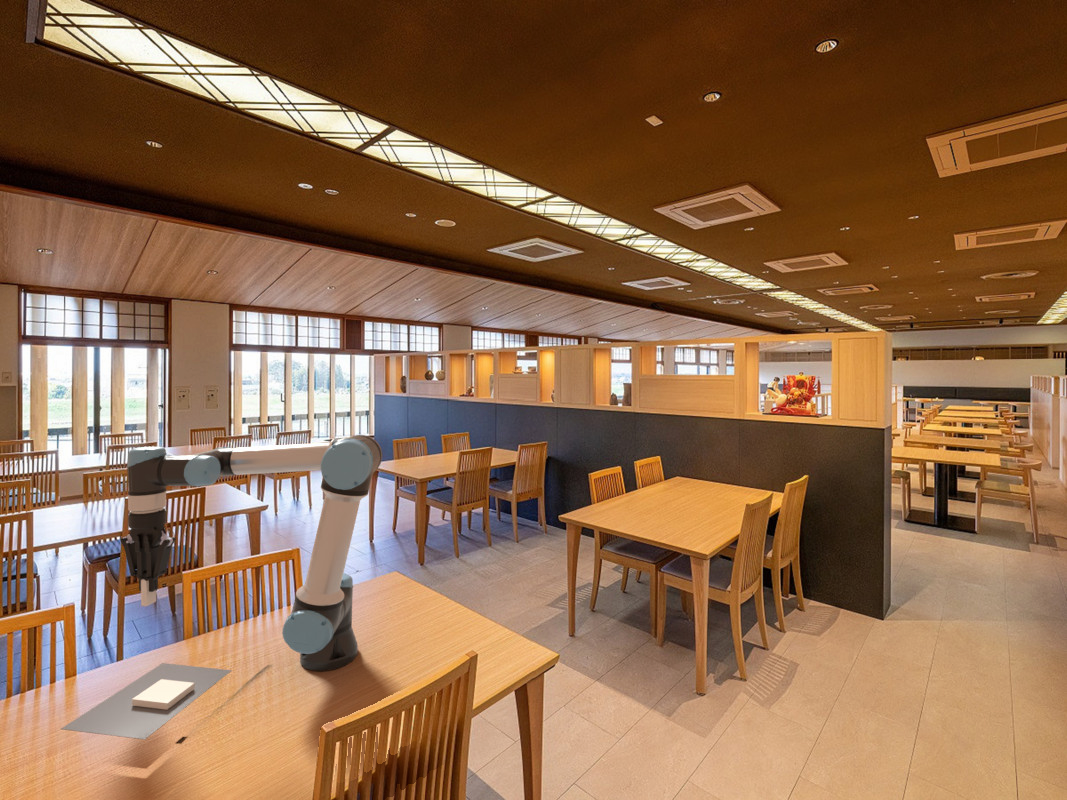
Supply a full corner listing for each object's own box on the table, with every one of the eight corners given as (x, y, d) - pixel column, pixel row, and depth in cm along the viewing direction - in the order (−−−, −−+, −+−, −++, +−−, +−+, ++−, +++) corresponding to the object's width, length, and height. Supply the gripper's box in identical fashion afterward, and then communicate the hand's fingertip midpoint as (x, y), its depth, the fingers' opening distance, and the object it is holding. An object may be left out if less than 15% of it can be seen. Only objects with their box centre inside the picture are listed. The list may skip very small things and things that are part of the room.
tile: (161, 685, 125) (194, 689, 124) (131, 706, 117) (167, 710, 116) (161, 679, 124) (194, 682, 123) (132, 699, 117) (167, 703, 116)
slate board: (231, 674, 132) (231, 670, 132) (144, 744, 106) (144, 739, 106) (162, 667, 134) (162, 662, 134) (60, 734, 109) (60, 728, 109)
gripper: (183, 507, 127) (184, 598, 128) (136, 505, 129) (137, 596, 130) (159, 514, 120) (160, 612, 121) (109, 512, 121) (110, 608, 122)
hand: (148, 603), depth 125 cm, fingers closed
